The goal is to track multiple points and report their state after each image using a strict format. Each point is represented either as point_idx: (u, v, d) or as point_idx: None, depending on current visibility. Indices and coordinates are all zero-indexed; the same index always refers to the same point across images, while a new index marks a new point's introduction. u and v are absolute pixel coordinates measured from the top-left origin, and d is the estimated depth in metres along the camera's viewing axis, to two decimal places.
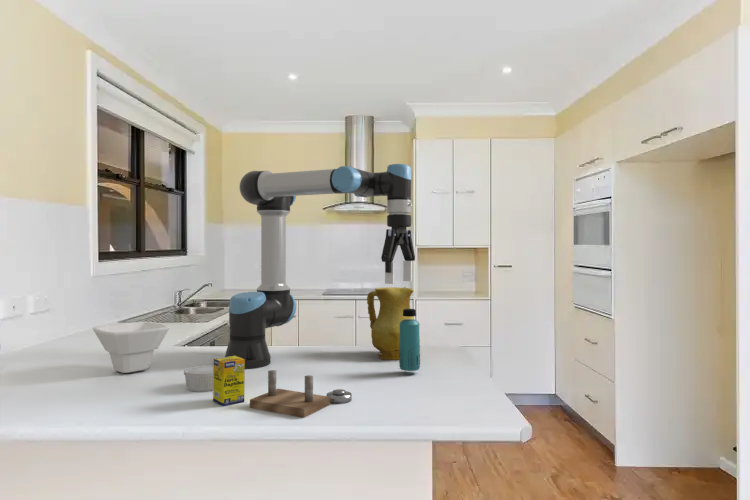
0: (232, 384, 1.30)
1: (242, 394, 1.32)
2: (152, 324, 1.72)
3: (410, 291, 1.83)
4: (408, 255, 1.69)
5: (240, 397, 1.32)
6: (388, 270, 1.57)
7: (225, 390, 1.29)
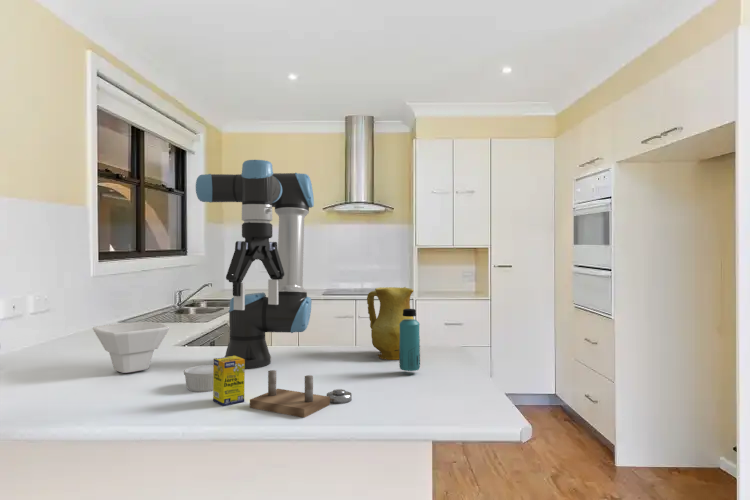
0: (232, 384, 1.30)
1: (242, 394, 1.32)
2: (152, 324, 1.72)
3: (410, 291, 1.83)
4: (273, 273, 1.37)
5: (240, 397, 1.32)
6: (236, 293, 1.24)
7: (225, 390, 1.29)
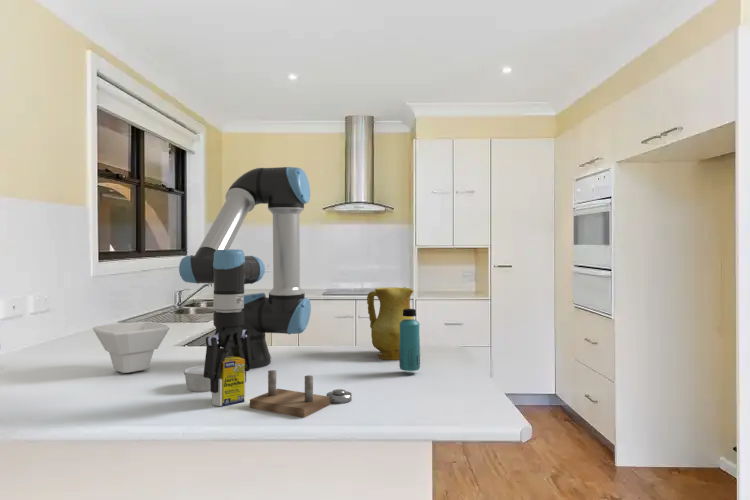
0: (232, 384, 1.30)
1: (242, 394, 1.32)
2: (152, 324, 1.72)
3: (410, 291, 1.83)
4: None
5: (240, 397, 1.32)
6: (213, 390, 1.28)
7: (225, 390, 1.29)
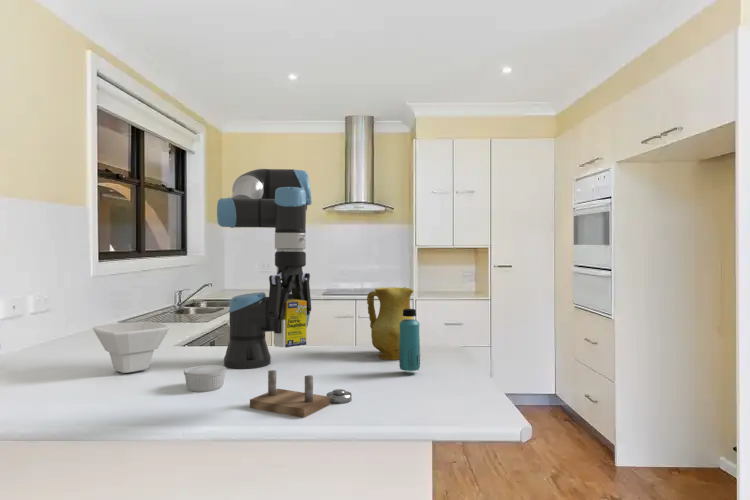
0: (294, 325, 1.26)
1: (304, 337, 1.28)
2: (152, 324, 1.72)
3: (410, 291, 1.83)
4: None
5: (302, 339, 1.28)
6: (277, 330, 1.24)
7: (288, 331, 1.25)
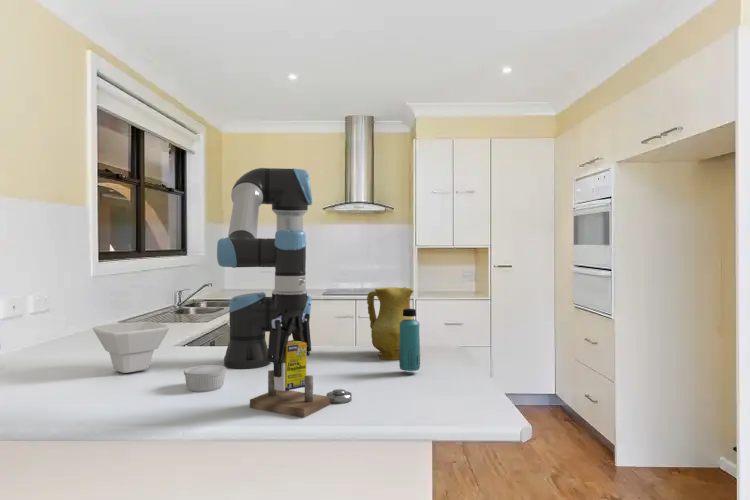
0: (294, 368, 1.27)
1: (304, 379, 1.28)
2: (152, 324, 1.72)
3: (410, 291, 1.83)
4: None
5: (302, 382, 1.28)
6: (277, 374, 1.24)
7: (288, 374, 1.25)
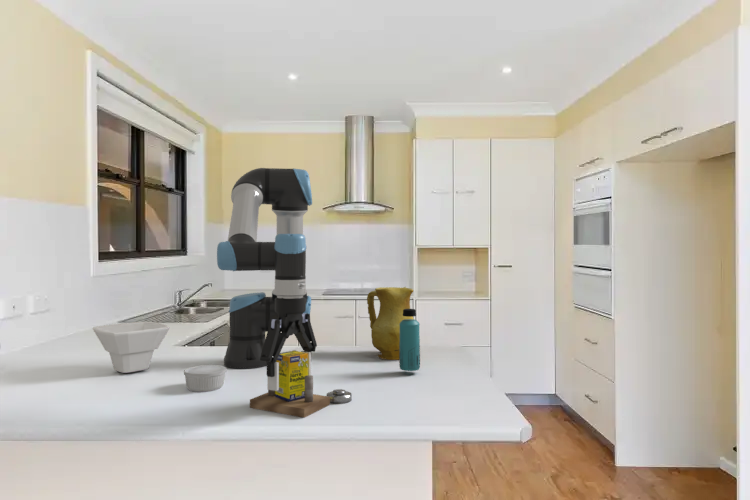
0: (297, 379, 1.27)
1: None
2: (152, 324, 1.72)
3: (410, 291, 1.83)
4: (306, 345, 1.34)
5: (304, 392, 1.29)
6: (270, 374, 1.22)
7: (290, 385, 1.26)
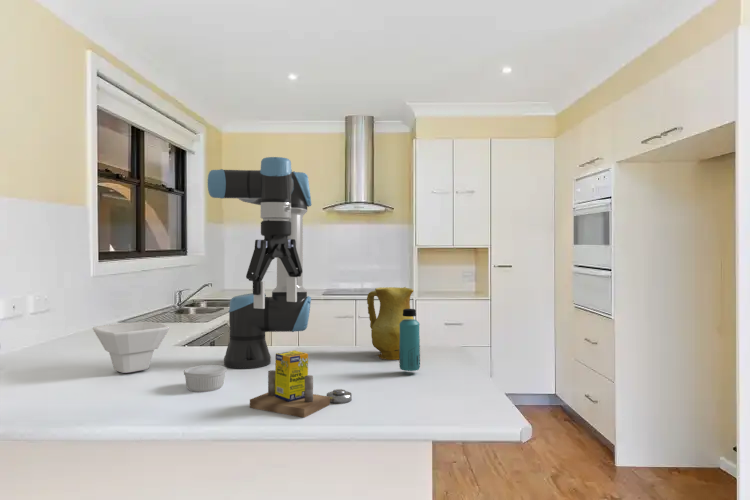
0: (297, 379, 1.27)
1: None
2: (152, 324, 1.72)
3: (410, 291, 1.83)
4: (292, 270, 1.37)
5: (304, 392, 1.29)
6: (256, 292, 1.24)
7: (290, 385, 1.26)
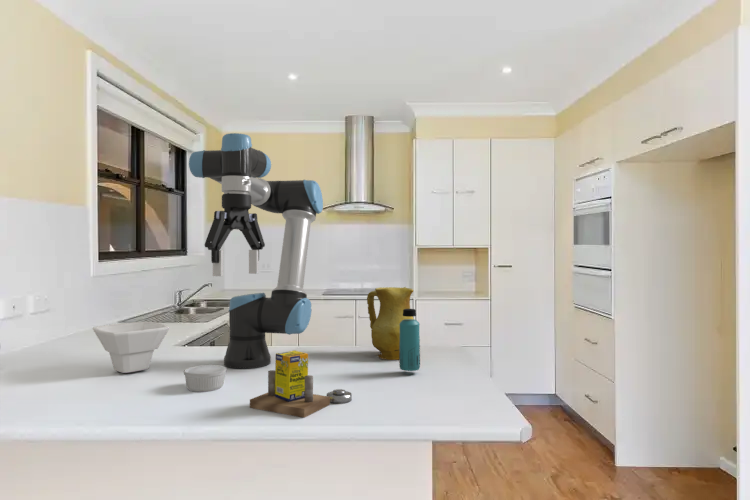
0: (297, 379, 1.27)
1: None
2: (152, 324, 1.72)
3: (410, 291, 1.83)
4: (253, 243, 1.43)
5: (304, 392, 1.29)
6: (214, 260, 1.30)
7: (290, 385, 1.26)
